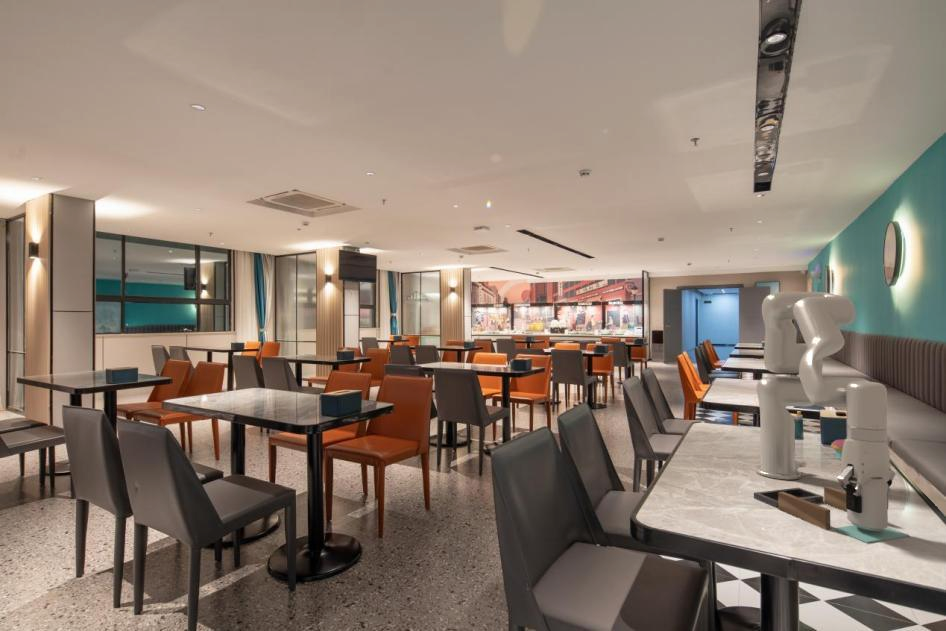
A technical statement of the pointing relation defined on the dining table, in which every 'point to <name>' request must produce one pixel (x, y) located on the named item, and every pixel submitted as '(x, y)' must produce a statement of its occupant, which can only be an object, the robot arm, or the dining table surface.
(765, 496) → the tray
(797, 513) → the wooden corridor walls
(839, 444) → the cupcake
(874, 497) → the can
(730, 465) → the dining table surface
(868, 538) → the pad
